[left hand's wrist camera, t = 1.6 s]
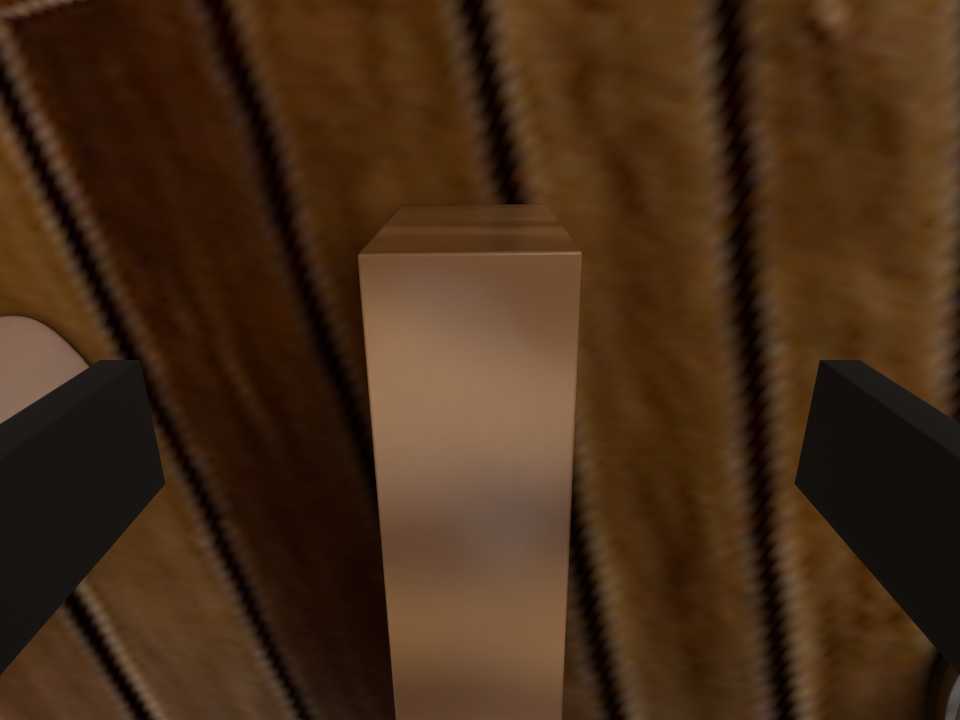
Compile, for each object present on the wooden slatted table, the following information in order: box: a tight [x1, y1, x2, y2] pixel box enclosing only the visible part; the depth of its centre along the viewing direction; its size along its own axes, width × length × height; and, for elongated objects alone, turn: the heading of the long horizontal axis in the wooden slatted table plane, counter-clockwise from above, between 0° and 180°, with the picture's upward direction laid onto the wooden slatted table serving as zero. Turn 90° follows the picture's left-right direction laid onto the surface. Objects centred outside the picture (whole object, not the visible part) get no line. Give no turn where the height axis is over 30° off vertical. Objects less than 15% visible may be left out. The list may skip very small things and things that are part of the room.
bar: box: [358, 204, 582, 720], centre depth 25 cm, size 28×6×9 cm, turn 1°
